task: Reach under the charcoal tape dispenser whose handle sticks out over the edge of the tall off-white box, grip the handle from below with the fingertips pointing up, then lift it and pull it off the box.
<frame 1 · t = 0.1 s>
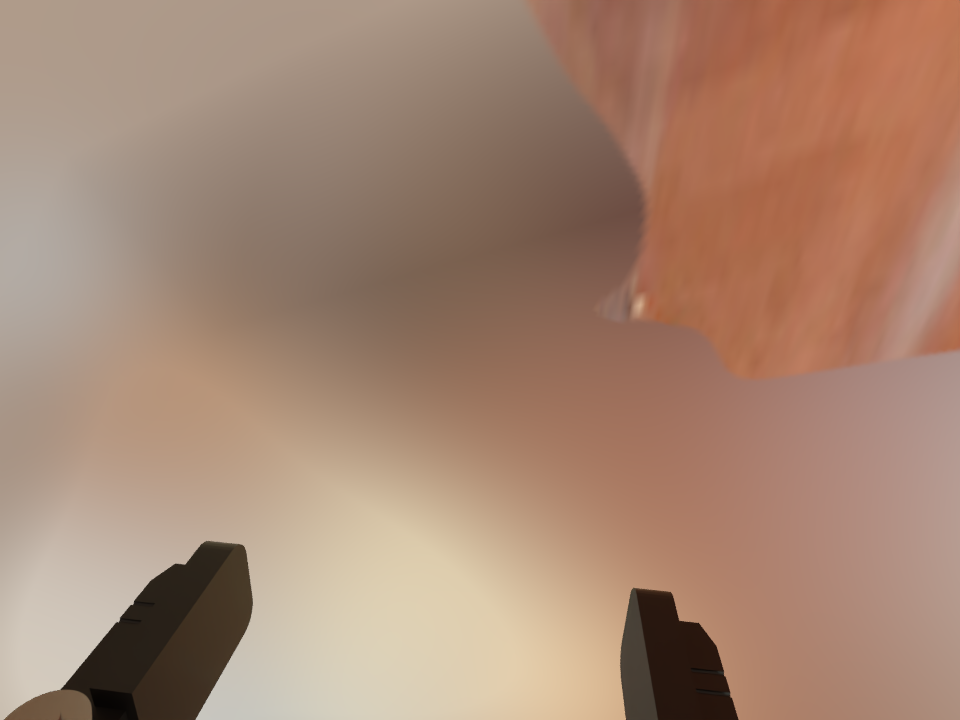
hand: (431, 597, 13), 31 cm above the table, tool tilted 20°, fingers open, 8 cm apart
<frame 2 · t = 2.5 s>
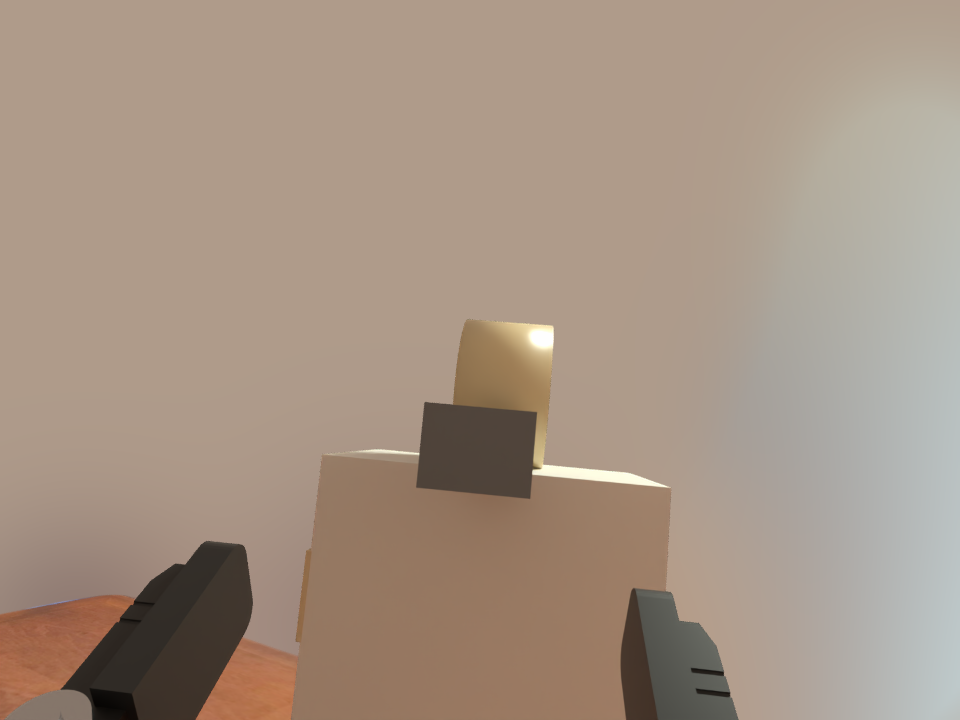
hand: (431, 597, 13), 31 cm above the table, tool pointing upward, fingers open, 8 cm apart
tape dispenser: (491, 471, 35), point 32 cm above the table, touching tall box
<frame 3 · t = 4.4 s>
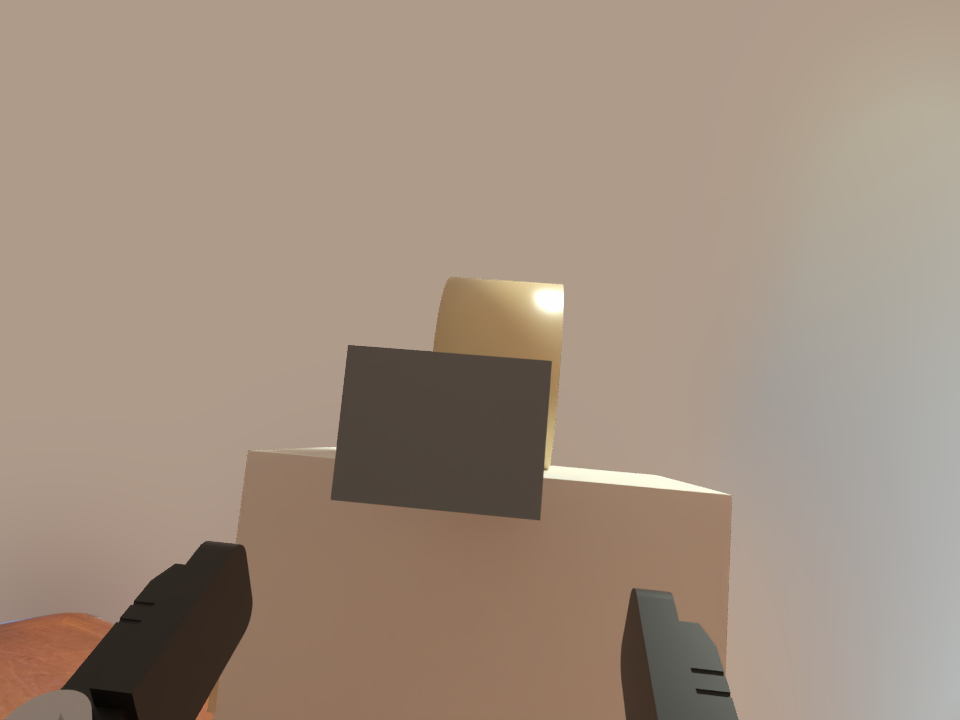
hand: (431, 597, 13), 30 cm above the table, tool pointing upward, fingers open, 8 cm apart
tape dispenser: (480, 473, 25), point 32 cm above the table, touching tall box
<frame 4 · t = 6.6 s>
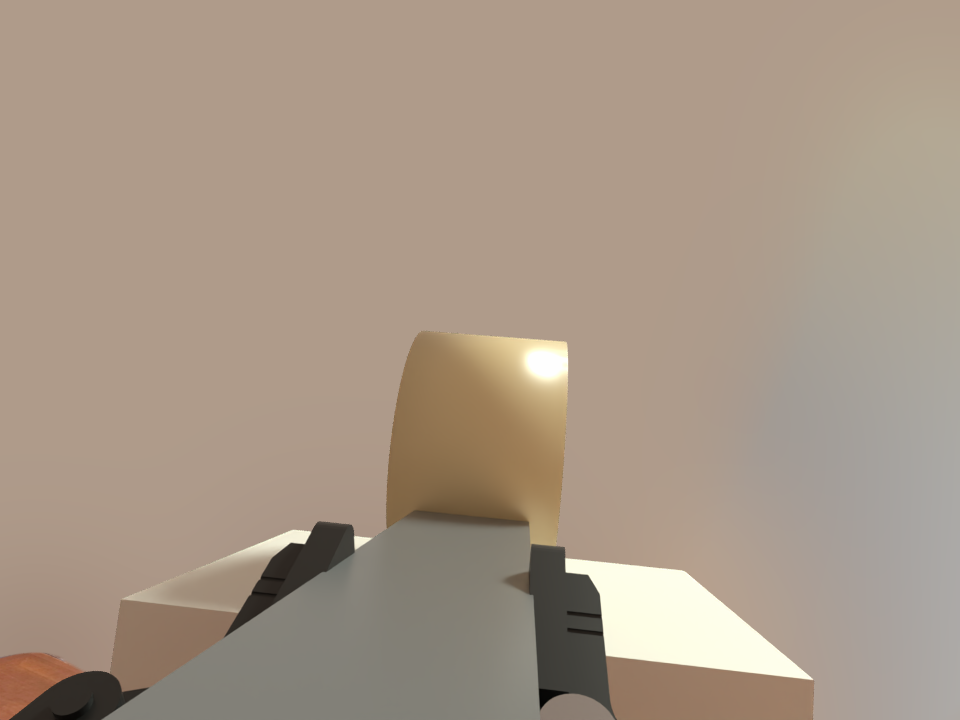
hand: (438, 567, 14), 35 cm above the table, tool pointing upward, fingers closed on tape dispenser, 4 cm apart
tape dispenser: (447, 649, 17), point 32 cm above the table, touching gripper, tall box
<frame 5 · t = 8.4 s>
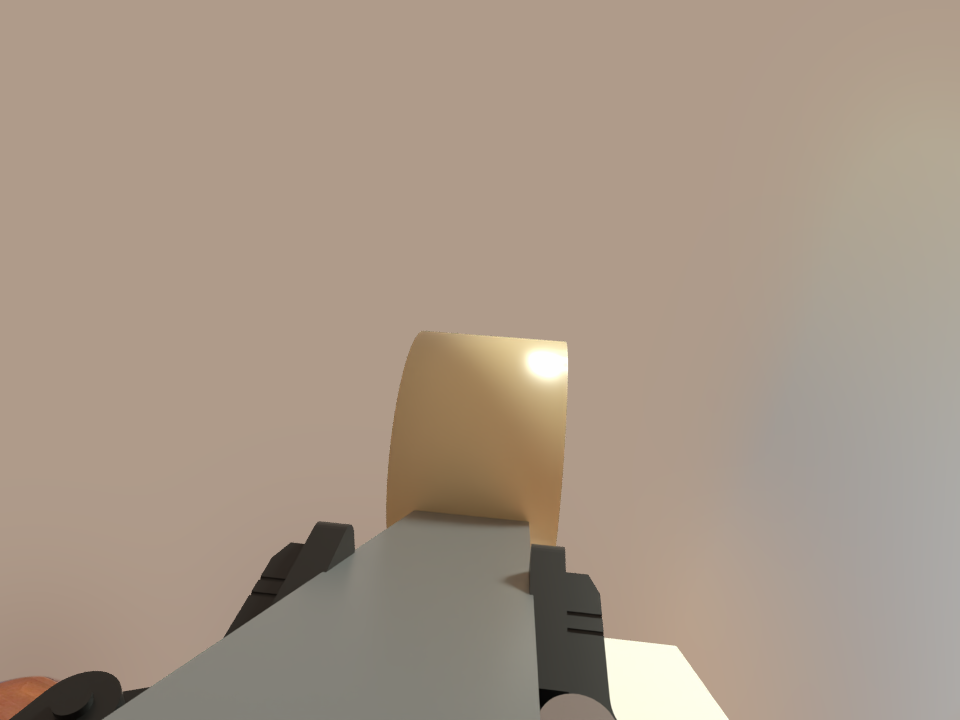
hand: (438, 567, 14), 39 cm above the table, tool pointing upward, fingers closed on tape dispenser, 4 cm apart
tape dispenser: (447, 649, 17), point 36 cm above the table, touching gripper
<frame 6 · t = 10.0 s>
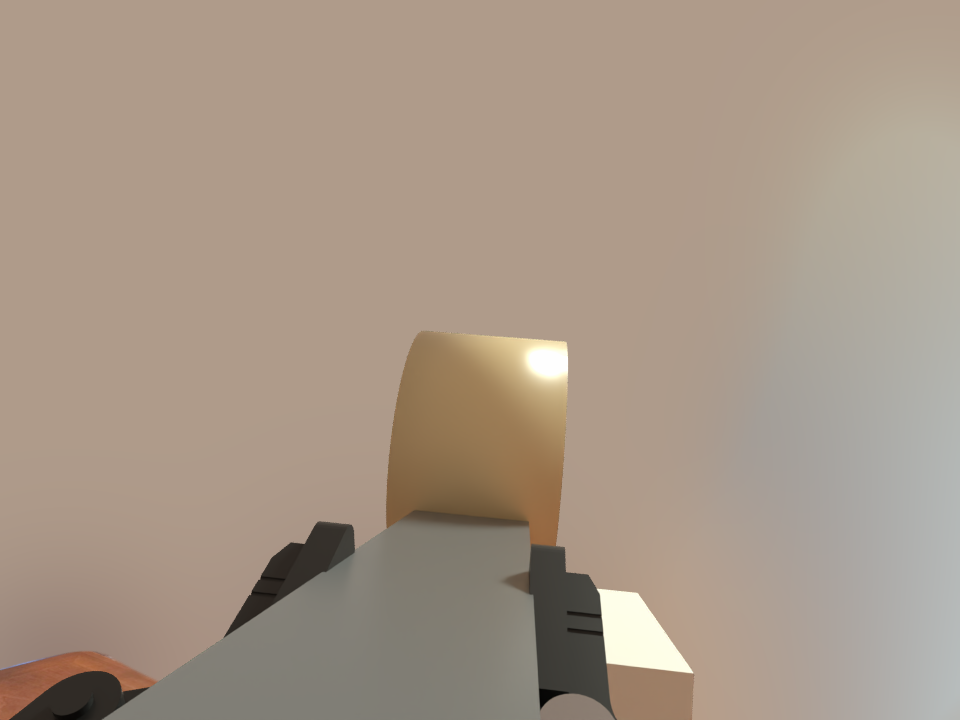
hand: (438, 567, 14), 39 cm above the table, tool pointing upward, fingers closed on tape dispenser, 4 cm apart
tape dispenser: (447, 649, 17), point 36 cm above the table, touching gripper
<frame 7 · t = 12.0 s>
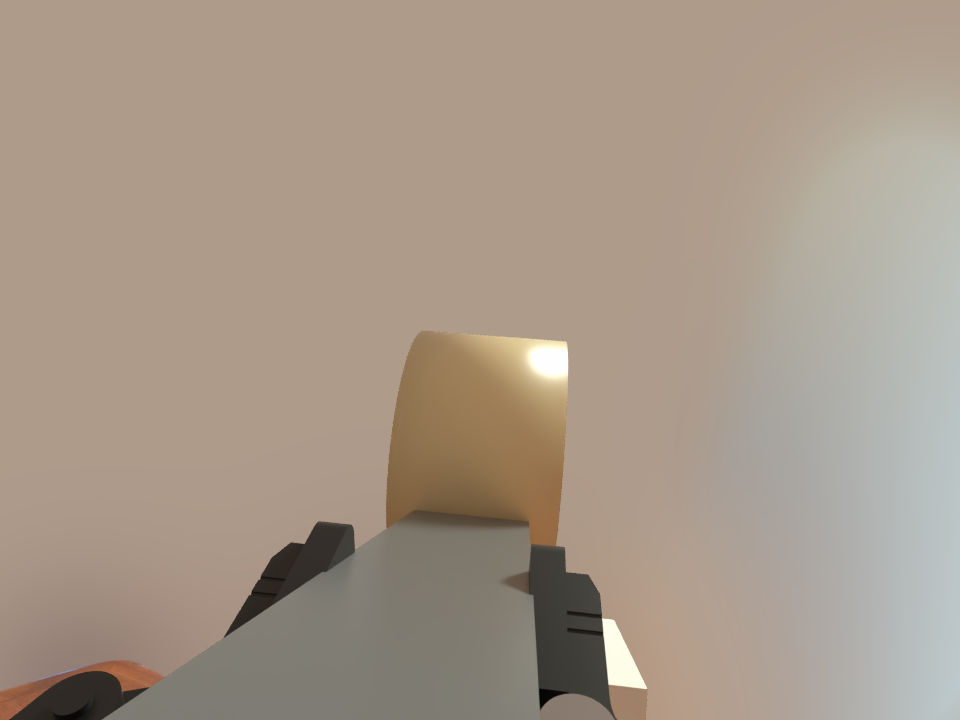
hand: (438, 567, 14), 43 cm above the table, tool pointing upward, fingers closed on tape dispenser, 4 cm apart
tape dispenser: (447, 649, 17), point 40 cm above the table, touching gripper
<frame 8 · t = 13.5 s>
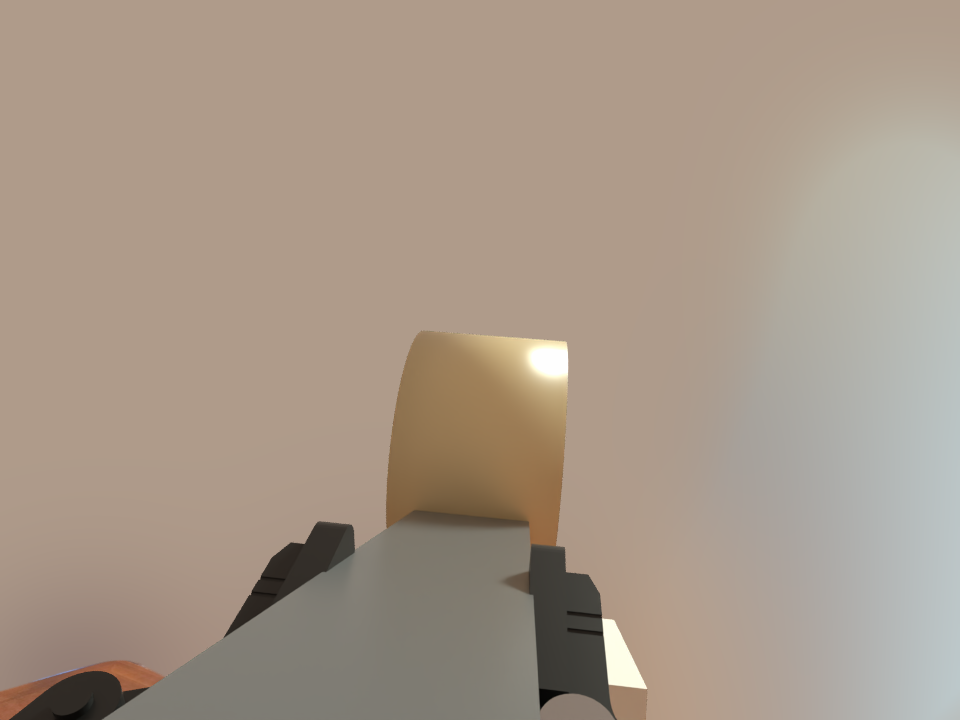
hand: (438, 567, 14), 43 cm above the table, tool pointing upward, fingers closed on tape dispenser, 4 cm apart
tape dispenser: (447, 649, 17), point 40 cm above the table, touching gripper
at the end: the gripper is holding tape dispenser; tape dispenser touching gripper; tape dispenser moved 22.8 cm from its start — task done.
